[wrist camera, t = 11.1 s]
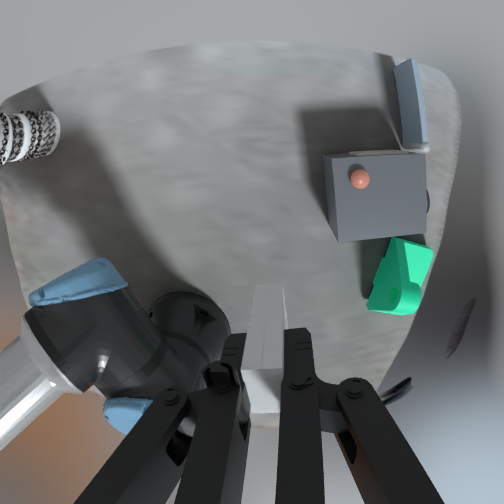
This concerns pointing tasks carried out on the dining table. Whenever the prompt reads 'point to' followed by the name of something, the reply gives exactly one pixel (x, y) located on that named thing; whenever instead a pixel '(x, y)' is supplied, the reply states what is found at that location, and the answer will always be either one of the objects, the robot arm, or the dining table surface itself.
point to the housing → (376, 194)
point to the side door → (411, 106)
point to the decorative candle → (28, 135)
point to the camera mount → (400, 278)
